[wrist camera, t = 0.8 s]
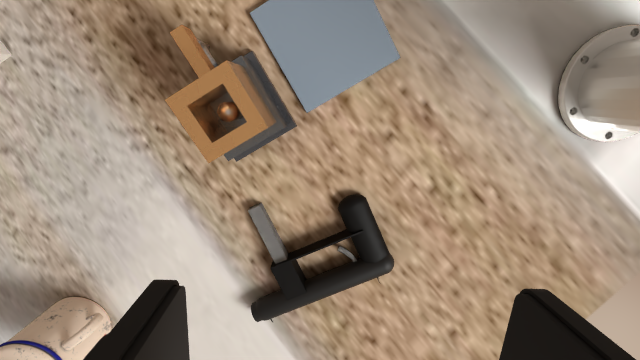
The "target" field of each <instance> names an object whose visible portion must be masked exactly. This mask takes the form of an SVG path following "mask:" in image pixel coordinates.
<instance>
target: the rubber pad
mask: <svg viewBox="0 0 640 360" xmlns="http://www.w3.org/2000/svg"><path fill="white" fill-rule="evenodd" d="M250 15H251V16H252V18H253V20H254V22H255V23H256V25H257V27H258V29H259V30H260V32H261V34H262V36H263V37H264V39H265V41H266V42H267V44H268V46H269V48H270V49H271V51H272V53H273V55H274V56H275V58H276V60H277V62H278V63H279V65H280V67H281V69H282V70H283V72H284V74H285V76H286V77H287V79H288V81H289V83H290V84H291V86H292V88H293V90H294V91H295V93H296V95H297V96H298V98H299V100H300V102H301V103H302V105H303V107H304V109H305V110H306V112H307V113H308V112H309V111H311V110H313V109H314V108H316V107H318V106H319V105H321V104H323V103H324V102H326V101H328V100H330V99H331V98H333V97H335V96H336V95H338V94H340V93H341V92H343V91H345V90H346V89H348V88H350V87H352V86H353V85H355V84H357V83H358V82H360V81H362V80H363V79H365V78H367V77H368V76H370V75H372V74H374V73H375V72H377V71H379V70H380V69H382V68H384V67H385V66H387V65H389V64H390V63H392V62H394V61H395V60H397V59H399V58H400V56H399V54H398V51H397V49H396V47H395V45H394V43H393V41H392V39H391V37H390V34H389V32H388V30H387V28H386V26H385V24H384V22H383V20H382V17H381V15H380V13H379V11H378V9H377V7H376V5H375V3H374V0H269V1H267V2H266V3H264V4H263V5H261V6H259V7H258V8H256V9H255V10H253V11H252V12H250Z"/></svg>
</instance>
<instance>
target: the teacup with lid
mask: <svg viewBox="0 0 640 360" xmlns="http://www.w3.org/2000/svg"><path fill="white" fill-rule="evenodd" d="M110 332H111V320H110V318H109V316H108V314H107V312H106V311H105V310H104V309H103V308H102V307H101V306H100V305H98V304H97V303H95V302H94V301H91V300H89V299H86V298H82V297H68V298H64V299H62V300H60V301H58V302H56V303H55V304H54V305H52V306H51V307H50V308H49V309H47V310H46V311H45V312H44V313H42V314H41V315H40V316H39V317H37V318H36V319H35V320H34V321H32V322H31V323H30V324H29V325H27V326H26V327H25V328H24V329H22V330H21V331H20V332H19V333H17V334H16V335H15V336H14V337H12V338H11V339H10V340H9V341H7V342H6V343H3V344H1V345H0V360H83V359H84V358H85V356H86V355H87V354H88V353H89V352H90V351H91V349H92V348H93V347H94V346H95V345H96V343H97V342H98V341H99V340H100V339H101V338H102V337H103V336H104V335H106V334H108V333H110Z"/></svg>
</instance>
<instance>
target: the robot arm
mask: <svg viewBox="0 0 640 360" xmlns="http://www.w3.org/2000/svg"><path fill="white" fill-rule="evenodd" d="M558 103H559V109H560V113H561V116H562V118H563V120H564V122H565V123H566V125H567V126H568V127H569V128H570V129H571V130H572V131H573V132H574V133H576V134H577V135H579V136H580V137H583V138H585V139H588V140H593V141H599V142H613V141H620V140H623V139H626V138H629V137H631V136H633V135H635V134H637V133H640V25H626V26H621V27H616V28H613V29H610V30H607V31H604V32H602V33H600V34H599V35H597V36H595V37H593V38H592V39H590V40H589V41H588V42H587V43H585V44H584V45H583V46H582V47H581V48H580V49H579V50H578V51H577V52H576V53H575V54H574V56H573V57H572V59H571V60H570V62H569V63H568V65H567V67H566V69H565V71H564V73H563V75H562V78H561V82H560V85H559V93H558ZM83 360H190V359H189V342H188V325H187V308H186V292H185V287H184V286H179V283H178V281H177V280H153V281H152V282H151V283H150V284H149V286H148V287H147V288H146V289H145V290H144V292H143V293H142V294H141V295H140V297H139V298H138V299H137V300H136V301H135V303H134V304H133V305H132V306H131V307H130V309H129V310H128V311H127V312H126V313H125V315H124V316H123V317H122V318H121V319H120V321H119V322H118V323H117V324H116V325H115V327H114V328H113V329H112V330H111V332H110V333H108V334H106V335H104V336H103V337H102V338H101V339H100V340H99V341H98V342H97V343H96V345H95V346H94V347H93V348H92V349H91V351H90V352H89V353H88V354H87V355H86V356H85V358H84V359H83ZM499 360H636V359H635V358H633V357H632V356H631V355H629V354H628V353H627V352H626V351H624V350H623V349H622V348H620V347H619V346H618V345H617V344H615V343H614V342H613V341H612V340H611V339H609V338H608V337H607V336H605V335H604V334H603V333H602V332H600V331H599V330H598V329H597V328H595V327H594V326H593V325H592V324H590V323H589V322H588V321H586V320H585V319H584V318H583V317H581V316H580V315H579V314H578V313H576V312H575V311H574V310H573V309H571V308H570V307H569V306H568V305H566V304H565V303H564V302H562V301H561V300H560V299H559V298H557V297H556V296H555V295H554V294H552V293H551V292H550V291H548V290H545V289H523V290H522V291H521V292H520V294H518V295H517V296H516V297H515V300H514V304H513V308H512V312H511V316H510V320H509V323H508V327H507V331H506V335H505V339H504V343H503V347H502V351H501V355H500V359H499Z"/></svg>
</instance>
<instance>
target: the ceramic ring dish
mask: <svg viewBox="0 0 640 360" xmlns="http://www.w3.org/2000/svg"><path fill="white" fill-rule="evenodd" d="M10 56H12V54H11V53H10V52H9V50H8V49H7V48H6V47H5V45H4V44H3V43H2V42H1V40H0V64H1V63H2V62H3V61H5V60H6V59H8V58H9V57H10Z"/></svg>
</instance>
